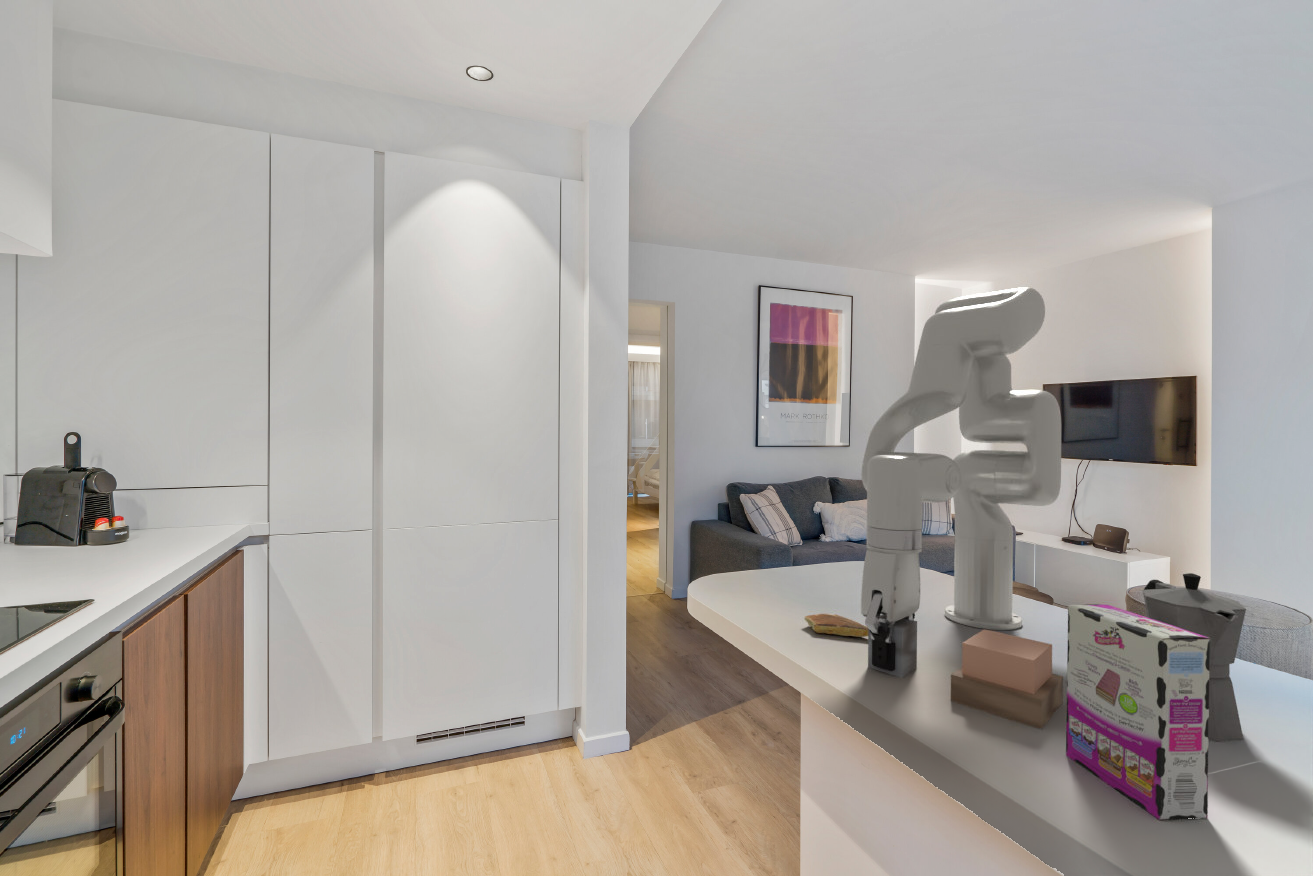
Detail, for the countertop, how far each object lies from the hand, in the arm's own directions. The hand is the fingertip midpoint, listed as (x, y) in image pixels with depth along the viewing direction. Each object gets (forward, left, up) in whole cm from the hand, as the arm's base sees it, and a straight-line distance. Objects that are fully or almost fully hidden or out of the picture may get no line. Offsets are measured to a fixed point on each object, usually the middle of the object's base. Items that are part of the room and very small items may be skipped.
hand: (892, 661), depth 86 cm
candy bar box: (+11, +29, -1) cm, 31 cm away
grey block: (0, 0, -1) cm, 1 cm away
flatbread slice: (-12, -10, -2) cm, 16 cm away
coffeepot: (-11, +31, -1) cm, 33 cm away
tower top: (0, +15, +3) cm, 15 cm away
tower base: (0, +15, -1) cm, 15 cm away
